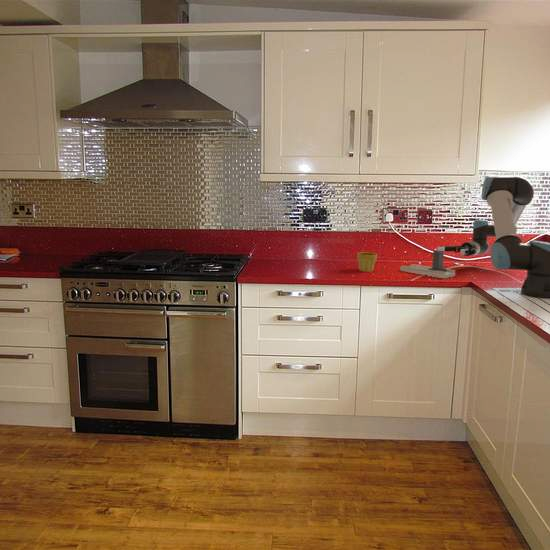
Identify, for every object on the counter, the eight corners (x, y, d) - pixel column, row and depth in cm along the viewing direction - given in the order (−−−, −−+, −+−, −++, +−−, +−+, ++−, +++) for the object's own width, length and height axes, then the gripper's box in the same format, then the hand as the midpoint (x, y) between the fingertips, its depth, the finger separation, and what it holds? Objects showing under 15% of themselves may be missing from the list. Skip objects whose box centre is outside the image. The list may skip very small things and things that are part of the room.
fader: (446, 271, 261) (447, 251, 259) (438, 272, 256) (440, 251, 255) (435, 269, 265) (437, 249, 264) (428, 271, 261) (429, 250, 259)
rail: (454, 276, 259) (455, 270, 259) (444, 278, 253) (444, 272, 252) (411, 270, 279) (411, 264, 278) (400, 271, 272) (400, 265, 272)
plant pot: (378, 271, 273) (379, 253, 271) (371, 274, 264) (373, 255, 262) (360, 269, 278) (361, 251, 276) (353, 272, 269) (354, 253, 267)
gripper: (491, 257, 271) (470, 260, 257) (448, 253, 289) (427, 255, 276) (492, 243, 269) (471, 245, 256) (449, 240, 288) (428, 242, 275)
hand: (448, 251), depth 266 cm, fingers open, 13 cm apart
